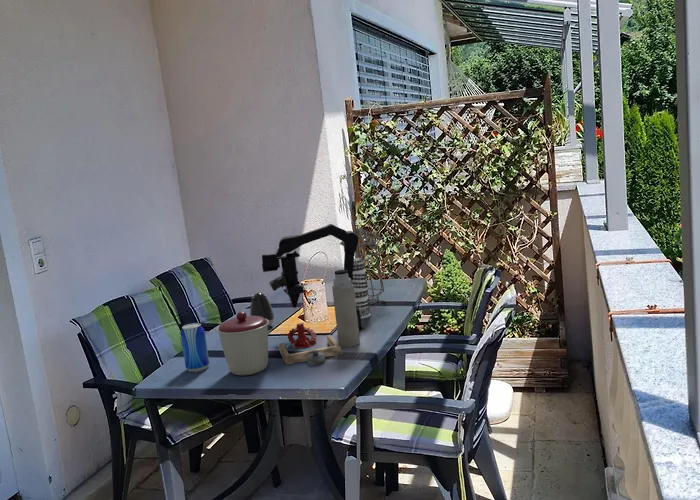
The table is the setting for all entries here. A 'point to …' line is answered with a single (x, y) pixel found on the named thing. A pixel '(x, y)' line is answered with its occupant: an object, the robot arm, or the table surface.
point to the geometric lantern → (369, 258)
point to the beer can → (194, 347)
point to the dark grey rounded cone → (261, 307)
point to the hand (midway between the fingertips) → (294, 307)
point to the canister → (245, 343)
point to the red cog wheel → (302, 337)
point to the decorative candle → (360, 288)
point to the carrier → (312, 353)
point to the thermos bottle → (345, 309)
